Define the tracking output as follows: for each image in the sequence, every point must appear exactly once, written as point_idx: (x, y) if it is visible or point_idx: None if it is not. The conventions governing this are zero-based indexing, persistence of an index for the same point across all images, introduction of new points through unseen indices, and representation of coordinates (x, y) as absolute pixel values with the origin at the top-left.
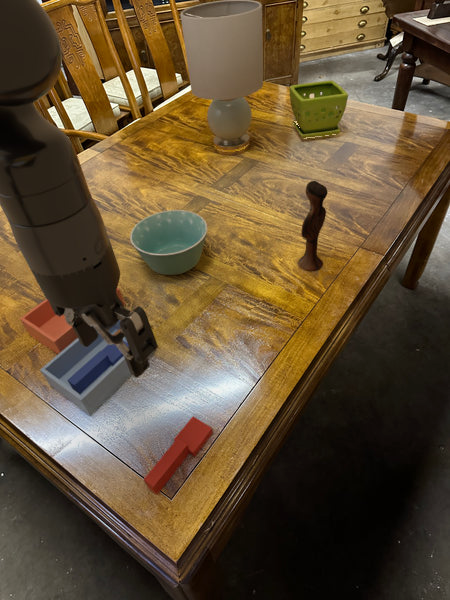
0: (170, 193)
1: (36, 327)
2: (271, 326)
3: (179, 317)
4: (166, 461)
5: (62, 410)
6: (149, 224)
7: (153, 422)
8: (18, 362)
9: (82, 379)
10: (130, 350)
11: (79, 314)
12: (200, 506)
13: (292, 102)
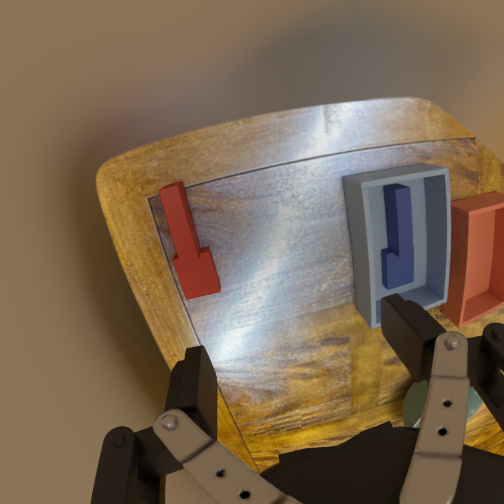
0: (480, 409)
1: (498, 207)
2: (263, 418)
3: (369, 355)
4: (178, 226)
5: (379, 152)
6: (476, 398)
7: (261, 241)
8: (476, 155)
9: (395, 204)
10: (164, 445)
11: (405, 452)
12: (118, 222)
13: None
